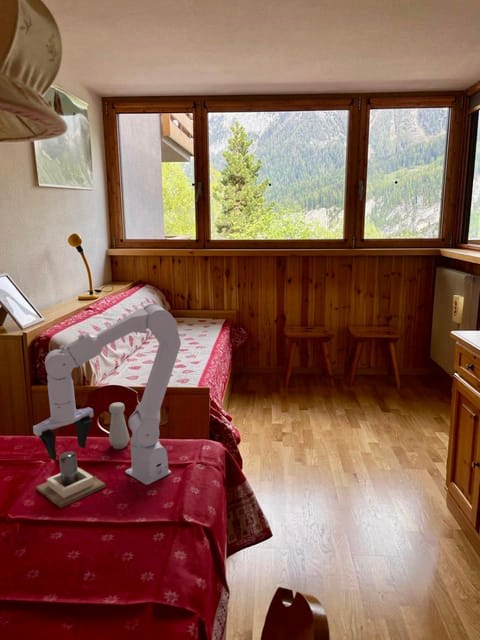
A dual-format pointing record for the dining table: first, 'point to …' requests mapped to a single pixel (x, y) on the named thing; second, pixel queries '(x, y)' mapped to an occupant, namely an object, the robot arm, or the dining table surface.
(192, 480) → the dining table surface
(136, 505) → the dining table surface
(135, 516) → the dining table surface
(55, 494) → the socket board
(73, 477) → the peg
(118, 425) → the salt shaker
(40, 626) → the dining table surface
